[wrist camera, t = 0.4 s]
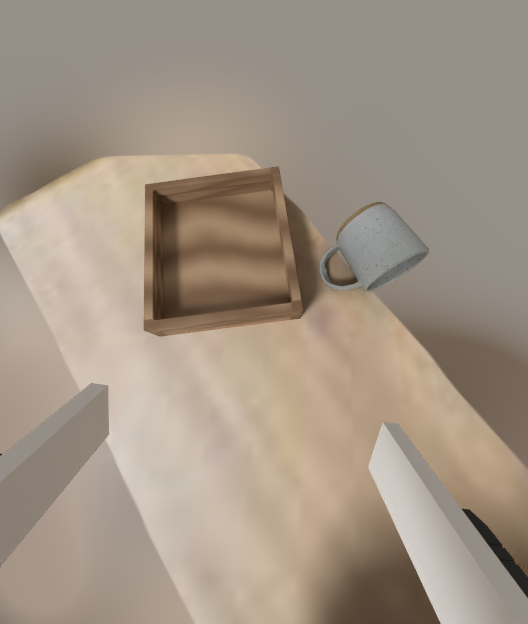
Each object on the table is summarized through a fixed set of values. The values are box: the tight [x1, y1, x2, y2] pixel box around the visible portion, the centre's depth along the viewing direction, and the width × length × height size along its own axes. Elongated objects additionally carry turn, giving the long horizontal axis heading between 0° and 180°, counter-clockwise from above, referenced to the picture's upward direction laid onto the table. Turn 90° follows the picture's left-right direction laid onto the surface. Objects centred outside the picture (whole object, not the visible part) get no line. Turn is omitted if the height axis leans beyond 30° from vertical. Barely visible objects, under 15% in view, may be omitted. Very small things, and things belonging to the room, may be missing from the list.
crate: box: [144, 167, 303, 336], centre depth 32 cm, size 20×18×4 cm
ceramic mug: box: [319, 202, 429, 291], centre depth 30 cm, size 11×8×8 cm
